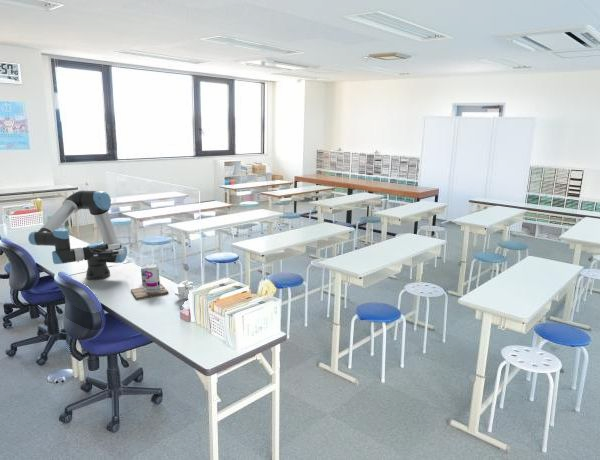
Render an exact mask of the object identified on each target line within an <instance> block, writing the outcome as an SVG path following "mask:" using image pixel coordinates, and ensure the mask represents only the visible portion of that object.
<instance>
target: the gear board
mask: <svg viewBox="0 0 600 460" xmlns="http://www.w3.org/2000/svg"><path fill="white" fill-rule="evenodd" d="M130 293H131V294H132V295H133V297H134V298H135V300H136V301H139V300H144V299H150V298H154V297H155V298H156V297H159V296H165V295H169V291H168V290H167V288H166V287H165V286H164V285H163V284H162V283H160V288H159V290H156V291H148V290H147V289H146V286H142V287H137V288H132V289H130Z"/></svg>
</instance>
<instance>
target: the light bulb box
mask: <svg viewBox="0 0 600 460" xmlns="http://www.w3.org/2000/svg"><path fill="white" fill-rule="evenodd" d="M148 265H157V266H158V267H159V265H158V264H153V263H152V264H151V263H148V264H146V265H145V266H143V267H142V268H140V273H141V284H142V285H146V277H145V268H146V266H148Z"/></svg>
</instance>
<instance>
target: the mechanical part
mask: <svg viewBox="0 0 600 460" xmlns="http://www.w3.org/2000/svg"><path fill="white" fill-rule="evenodd" d="M193 288H195V289H196V286H195V285H194V282H193V281H189V280H188V279H185V280H183V281H181V282H179V284H178V285H177V289H175V290H174V295H175V296H177V297H178V299H179V300H181V302H183V300H185V299H188V294H189V290H191V289H193ZM188 300H189V299H188Z"/></svg>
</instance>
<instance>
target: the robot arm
mask: <svg viewBox="0 0 600 460" xmlns="http://www.w3.org/2000/svg"><path fill="white" fill-rule="evenodd" d="M111 202H112V199H111V196H110V194H108V193H107V192H106V191H104V190H103V191H102V190H78V191H76V192H74V193H72V194H70V195H69V196H68V197H67V198H65V199H64V200H63V201H62V203H61V206H60V207H59V208H58V209H57V210H56V212H54V213H53V214H52V216H51V217H50V218H48V220H47V221H46V222H45V223H44V224H43V225H42V226H41V227H40V229H39V230H37V231H36V230H35V231H32V232H30V233H29V235H28V238H27V239H28V242H29V243H30V245H32V246H33V245H34V246H45V247H46V246H51V247H53V246H54V249H55V250H53V251H52V252H51V256H52V263H53V264H54V265H64V264H69V263H80V262H82V261H87V262H86V263H87V270H86V273H85V276H86V279H88V280H95V281H96V280H102V279H106V278H108V277H110V276H111V271H110V268H109V267H108V265H107V263H113V264H119V263H120V264H122V263H124V262H125V260H126V259H127V255H128V248H127V247H126V246H125V245H122V243H121V241H120V240H118V238H117V234H116V232H115V229H114V226H113V223H112V221H111V217H110V214H109V211H110V208H111V206H112V203H111ZM80 210H88V211H89V213H90V216H91V215H92V216H93V217H94V220H95V223H96V225H97V228H98V231H99V233H100V237H101V239H102V241H101V242H94V243H91V244H88V245H87V246H84V247H77V248H71V243H70V241H71V240H70V234H69V230H68V229H67V228H62V226H64V224H65V223H66V222H67V221H68V219H70V217H71V216H72V215H73V214H76V213H77V212H79V211H80Z"/></svg>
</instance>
